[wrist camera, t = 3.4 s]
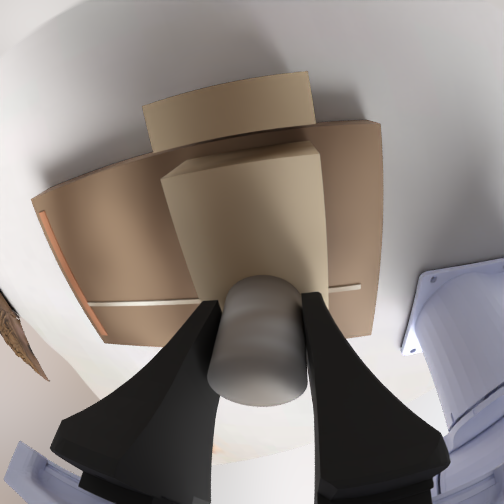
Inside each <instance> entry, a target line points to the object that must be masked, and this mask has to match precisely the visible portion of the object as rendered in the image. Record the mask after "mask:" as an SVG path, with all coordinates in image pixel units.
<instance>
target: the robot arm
mask: <svg viewBox="0 0 504 504" xmlns="http://www.w3.org/2000/svg"><path fill="white" fill-rule="evenodd" d="M432 277H434V278H433V279H431V278H432ZM301 298H302V311H303V324H304V333H305V342H306V360H307V368H308V375H309V381H310V388H311V395H312V402H313V410H314V431H315V497H314V504H504V258H500V259H495V260H490V261H484V262H479V263H473V264H468V265H462V266H456V267H450V268H444V269H438V270H431V271H426V272H424V273H422V274H421V275H420V277H419V280H418V285H417V290H416V295H415V299H414V303H413V308H412V312H411V316H410V320H409V323H408V327H407V331H406V334H405V338H404V341H403V344H402V348H401V353H402V355H404V356H406V355H411V354H415V353H420V352H423V354H424V356H425V359H426V362H427V364H428V367H429V370H430V373H431V375H432V378H433V381H434V384H435V387H436V390H437V393H438V396H439V399H440V402H441V406H442V409H443V412H444V416H445V419H446V423H447V427H448V430H449V433H448V434H447V435H446V436H444V437H442V435H441V433H440V432H439V431H437V430H436V429H435V428H433V427H432V426H430V425H429V424H427V423H426V422H425V421H424V420H422V419H421V418H420V417H418V416H417V415H416V414H415V413H413V412H412V411H411V410H410V409H408V408H407V407H406V406H405V405H404V404H403V403H402V402H401V401H400V400H399V399H398V398H397V397H395V396H394V395H393V394H392V393H391V392H390V391H389V390H388V389H387V388H386V387H385V386H384V385H383V384H382V383H381V382H380V381H379V380H378V379H377V378H376V376H375V375H374V374H373V373H372V372H371V371H370V370H369V369H368V367H367V366H366V365H365V364H364V363H363V361H362V360H361V359H360V358H359V356H358V355H357V354H356V352H355V351H354V350H353V348H352V347H351V346H350V344H349V343H348V341H347V340H346V338H345V337H344V335H343V334H342V332H341V331H340V329H339V327H338V326H337V324H336V323H335V321H334V319H333V318H332V316H331V314H330V312H329V310H328V308H327V306H326V304H325V302H324V300H323V297H322V294H321V293H320V292H309V293H301ZM221 316H222V311H221V308H220V305H219V302H218V300H209V301H202V302H201V303H200V305H199V306H198V307H197V308H196V309H195V311H194V312H193V313H192V314H191V315H190V317H189V318H188V319H187V320H186V322H185V323H184V324H183V325H182V327H181V328H180V329H179V330H178V331H177V332H176V334H175V335H174V336H173V337H172V338H171V339H170V341H169V342H168V343H167V344H166V345H165V346H164V347H163V348H162V349H161V350H160V351H159V352H158V354H157V355H156V356H155V357H154V358H153V359H152V360H151V361H150V362H149V363H148V364H147V365H146V366H144V367H143V368H142V369H141V370H140V371H139V372H138V373H137V374H135V375H134V376H133V377H132V378H131V379H129V380H128V381H127V382H126V383H124V384H123V385H122V386H120V387H119V388H118V389H116V390H115V391H114V392H112V393H111V394H109V395H108V396H106V397H105V398H103V399H102V400H100V401H98V402H97V403H95V404H93V405H92V406H90V407H88V408H86V409H85V410H83V411H81V412H79V413H77V414H75V415H73V416H70V417H68V418H66V419H64V420H62V421H61V424H60V426H59V428H58V430H57V432H56V435H55V437H54V439H53V442H52V444H51V447H50V449H51V451H52V452H54V453H55V454H56V455H58V456H59V457H61V458H62V459H64V460H65V461H67V462H68V463H70V464H72V465H74V466H75V467H77V468H79V469H80V470H82V471H83V473H82V476H81V477H79V476H77V475H75V474H73V473H71V472H69V471H68V470H66V469H64V468H62V467H60V466H58V465H57V464H55V463H53V462H51V461H50V460H48V459H47V458H46V457H44V456H43V455H41V454H39V453H38V452H37V451H35V450H33V449H32V448H30V447H29V446H28V445H26V444H24V443H23V442H22V441H19V443H18V445H17V447H16V449H15V452H14V454H13V457H12V459H11V461H10V464H9V467H8V469H7V472H6V475H5V477H4V481H5V482H6V483H7V484H8V485H9V486H10V487H11V488H12V489H13V490H15V491H16V492H17V493H18V494H19V495H20V496H21V497H22V498H23V499H24V500H25V501H26V502H27V503H28V504H210V503H211V462H212V447H213V436H214V426H215V418H216V412H217V407H218V403H219V398H220V395H219V394H217V393H216V392H215V391H214V390H213V389H212V388H211V386H210V385H209V383H208V380H207V374H208V370H209V365H210V361H211V357H212V353H213V349H214V345H215V341H216V337H217V333H218V328H219V324H220V320H221Z"/></svg>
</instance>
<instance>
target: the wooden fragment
mask: <svg viewBox="0 0 504 504" xmlns="http://www.w3.org/2000/svg"><path fill="white" fill-rule="evenodd" d="M16 317H18V318H19V316H18V315H17V314H16V313H15V312H13V311H12V309H11V308H10V306H9V305H8V303H7V302H6V300H5V299H4V298H3V296H2V294H1V293H0V334H1V335H2V337H3V338H4V340H5V342H6V343H7V345H9V346H10V347H11V349H12V350H13V351H14V352H15V354H16V355H17V356H18V357H21V358H22V359H23V361H24V362H26V363H27V364H29V365H30V366H31V367H32V368H33V369H34V371H36V372H37V373H38V374H39V375H41V376H42V377H43V378H44V379H45V380H47V381H49V382H50V380H48V378H47V377H46V375H45V374H44V371H43V370H42V368H41V366H40V364H39V362H38V361H37V359H36V357H35V356H34V354H33V352H32V350H31V348H30V345H29V343H28V341H27V338H26V336H25V334H24V331H23V329H22V326H21V323H20V319H19V320H18V319H16Z"/></svg>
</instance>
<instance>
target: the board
mask: <svg viewBox="0 0 504 504" xmlns="http://www.w3.org/2000/svg"><path fill="white" fill-rule="evenodd" d="M302 141H310V142H311V143H312V144H313V146H314V147H315V148H316V150H317V151H318V152H319V153H320V161H321V170H322V180H323V192H324V204H325V218H326V235H327V257H328V299H329V312H330V314H331V316H332V318H333V319H334V321H335V323H336V324H337V326H338V327H339V329H340V331H341V332H342V334H343V335H344V337H345V338H353V337H361V336H368V335H371V332H372V326H373V320H374V313H375V306H376V298H377V290H378V281H379V271H380V260H381V246H382V227H383V156H382V138H381V125H380V123H376V122H373V121H369V120H348V121H331V122H318V123H316V124H311V125H301V126H292V127H283V128H275V129H268V130H261V131H255V132H248V133H242V134H236V135H231V136H226V137H220V138H215V139H210V140H206V141H201V142H196V143H192V144H188V145H183V146H179V147H175V148H171V149H167V150H163V151H160V152H156V153H153V152H151V153H147V154H144V155H141V156H137V157H134V158H131V159H127V160H124V161H121V162H118V163H115V164H112V165H109V166H106V167H103V168H100V169H97V170H94V171H92V172H89V173H86V174H83V175H81V176H78V177H76V178H73V179H70V180H68V181H65V182H63V183H60V184H58V185H56V186H53V187H51V188H49V189H47V190H46V191H44V192H42V193H41V194H39V195H37V196H36V197H34V198H32V199H31V201H32V204H33V207H34V209H35V212H36V214H37V217H38V220H39V222H40V225H41V227H42V229H43V232H44V234H45V236H46V239H47V241H48V243H49V246H50V248H51V250H52V252H53V254H54V256H55V258H56V260H57V263H58V265H59V267H60V269H61V271H62V273H63V274H64V276H65V278H66V280H67V282H68V284H69V286H70V288H71V289H72V291H73V293H74V295H75V297H76V298H77V300H78V302H79V304H80V305H81V307H82V309H83V310H84V312H85V314H86V315H87V317H88V318H89V320H90V322H91V323H92V325H93V326H94V328H95V329H96V331H97V333H98V334H99V336H100V337H101V339H102V340H103V341H104V343H108V344H120V345H135V346H153V347H164V346H165V345H166V344H167V343H168V342H169V341H170V339H171V338H172V337H173V336H174V335H175V334H176V332H177V331H178V330H179V329H180V328H181V327H182V325H183V324H184V323H185V322H186V320H187V319H188V318H189V317H190V315H191V314H192V313H193V312H194V311H195V309H196V308H197V307H198V306H199V305H200V300H199V298H198V295H197V292H196V289H195V287H194V284H193V281H192V278H191V275H190V272H189V269H188V267H187V264H186V261H185V258H184V255H183V252H182V249H181V246H180V243H179V239H178V236H177V233H176V230H175V227H174V224H173V220H172V217H171V214H170V211H169V207H168V204H167V201H166V197H165V194H164V190H163V187H162V183H161V180H160V179H162V178H163V177H164V176H165V175H167V174H168V173H169V172H171V171H172V170H174V169H175V168H176V167H178V166H179V165H180V164H182V163H183V162H185V161H186V160H190V159H194V158H199V157H204V156H209V155H214V154H220V153H225V152H231V151H236V150H242V149H249V148H255V147H262V146H269V145H276V144H284V143H293V142H302Z"/></svg>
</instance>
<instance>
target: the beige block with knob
mask: <svg viewBox="0 0 504 504" xmlns="http://www.w3.org/2000/svg"><path fill="white" fill-rule="evenodd" d="M142 108H143V113H144V117H145V121H146V126H147V130H148V134H149V138H150V142H151V146H152V150H153V153H156V152H160V151H163V150H167V149H171V148H175V147H179V146H183V145H188V144H192V143H196V142H201V141H206V140H210V139H215V138H220V137H226V136H231V135H236V134H242V133H248V132H255V131H261V130H268V129H275V128H283V127H292V126H301V125H311V124H316V120H315V113H314V106H313V100H312V94H311V87H310V82H309V76H308V71H305V72H294V73H285V74H276V75H269V76H262V77H256V78H250V79H244V80H238V81H233V82H228V83H223V84H219V85H214V86H210V87H206V88H202V89H198V90H194V91H190V92H186V93H183V94H179V95H176V96H172V97H169V98H166V99H163V100H159V101H156V102H153V103H150V104H147V105H144V106H142ZM160 180H161V183H162V187H163V190H164V194H165V197H166V201H167V204H168V207H169V211H170V214H171V217H172V220H173V224H174V227H175V230H176V233H177V236H178V239H179V243H180V246H181V249H182V252H183V255H184V258H185V261H186V264H187V267H188V269H189V272H190V275H191V278H192V281H193V284H194V287H195V289H196V292H197V295H198V298H199V300H200V303H201V302H202V301H209V300H218V302H219V305H220V308H221V311H222V316H221V320H220V324H219V328H218V333H217V337H216V341H215V345H214V349H213V353H212V357H211V361H210V365H209V370H208V374H207V380H208V383H209V385H210V386H211V388H212V389H213V390H214V391H215V392H216V393H217V394H219V395H220V396H222V397H224V398H225V399H228V400H230V401H232V402H235V403H239V404H243V405H248V406H257V407H268V406H277V405H281V404H285V403H288V402H291V401H293V400H295V399H296V398H298V397H299V396H301V395H302V394H303V393H304V391H305V390H306V388H307V383H308V381H307V360H306V342H305V333H304V324H303V311H302V298H301V293H309V292H320V293H321V294H322V297H323V300H324V302H325V304H326V306H327V308H328V310H329V299H328V257H327V235H326V218H325V204H324V192H323V180H322V170H321V161H320V153H319V152H318V151H317V150H316V148H315V147H314V146H313V144H312V143H311V142H310V141H302V142H293V143H284V144H276V145H269V146H262V147H255V148H249V149H242V150H236V151H231V152H225V153H220V154H214V155H209V156H204V157H199V158H194V159H190V160H186V161H185V162H183V163H182V164H180V165H179V166H178V167H176V168H175V169H174V170H172V171H171V172H169V173H168V174H167V175H165V176H164V177H163V178H162V179H160Z"/></svg>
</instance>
